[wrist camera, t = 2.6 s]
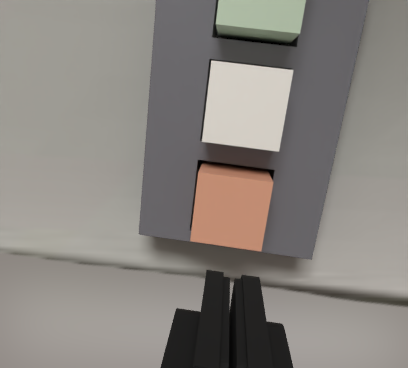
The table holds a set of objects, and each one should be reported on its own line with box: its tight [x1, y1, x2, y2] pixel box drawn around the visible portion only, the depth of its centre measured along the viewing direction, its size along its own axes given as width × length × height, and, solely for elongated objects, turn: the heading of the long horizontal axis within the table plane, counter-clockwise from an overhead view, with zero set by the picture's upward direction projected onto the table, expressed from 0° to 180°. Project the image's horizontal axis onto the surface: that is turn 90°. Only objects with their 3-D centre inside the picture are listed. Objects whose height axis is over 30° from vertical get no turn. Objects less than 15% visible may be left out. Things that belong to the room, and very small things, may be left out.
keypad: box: [139, 0, 369, 259], centre depth 22 cm, size 19×12×3 cm, turn 173°
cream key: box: [202, 60, 293, 152], centre depth 20 cm, size 4×4×4 cm
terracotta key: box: [190, 161, 274, 251], centre depth 22 cm, size 4×4×4 cm
